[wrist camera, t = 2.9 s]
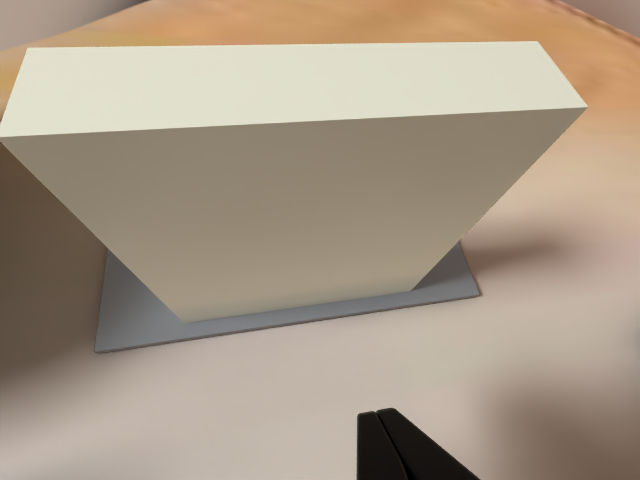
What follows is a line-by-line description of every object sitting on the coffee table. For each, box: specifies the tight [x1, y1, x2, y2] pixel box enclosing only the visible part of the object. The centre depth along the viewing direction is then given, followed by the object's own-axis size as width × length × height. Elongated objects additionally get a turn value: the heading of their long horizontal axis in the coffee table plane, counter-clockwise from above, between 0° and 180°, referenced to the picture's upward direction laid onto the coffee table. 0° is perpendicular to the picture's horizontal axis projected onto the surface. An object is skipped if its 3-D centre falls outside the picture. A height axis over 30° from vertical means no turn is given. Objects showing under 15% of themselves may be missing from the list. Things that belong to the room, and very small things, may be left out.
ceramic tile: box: [0, 41, 588, 323], centre depth 13 cm, size 2×12×12 cm, turn 100°
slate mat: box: [94, 242, 480, 354], centre depth 22 cm, size 18×20×1 cm
